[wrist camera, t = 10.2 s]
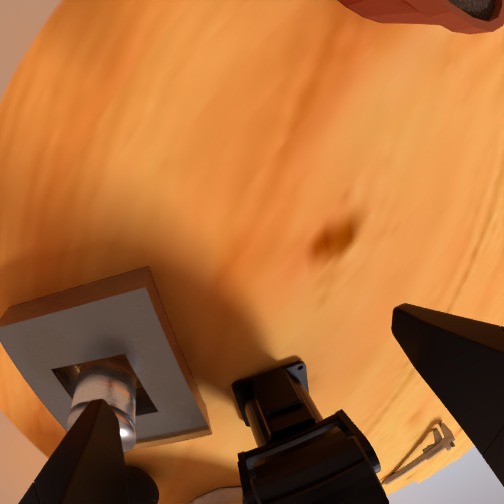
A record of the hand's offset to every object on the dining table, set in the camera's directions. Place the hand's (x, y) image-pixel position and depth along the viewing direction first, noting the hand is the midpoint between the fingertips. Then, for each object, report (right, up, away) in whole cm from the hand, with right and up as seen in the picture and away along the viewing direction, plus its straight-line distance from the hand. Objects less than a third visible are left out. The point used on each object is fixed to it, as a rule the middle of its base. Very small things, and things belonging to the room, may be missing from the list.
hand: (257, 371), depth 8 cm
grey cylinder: (-11, -5, +13) cm, 18 cm away
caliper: (+31, -37, +37) cm, 62 cm away
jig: (-11, -6, +13) cm, 18 cm away
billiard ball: (-14, -21, +18) cm, 32 cm away
